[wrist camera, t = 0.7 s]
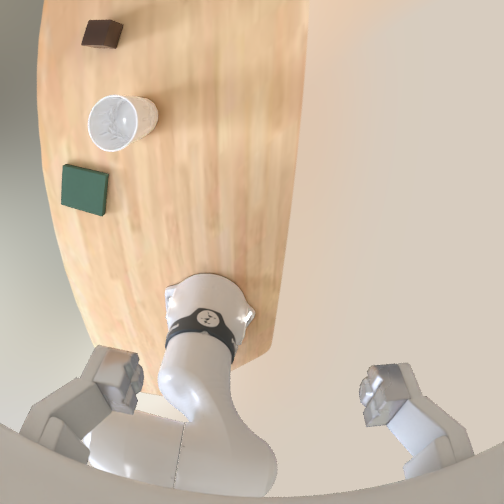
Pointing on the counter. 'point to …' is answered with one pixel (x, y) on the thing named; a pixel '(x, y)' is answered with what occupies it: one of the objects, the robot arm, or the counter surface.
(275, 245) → the counter surface
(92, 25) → the walnut block
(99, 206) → the flat green block
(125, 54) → the counter surface
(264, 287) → the counter surface
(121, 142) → the white cup
